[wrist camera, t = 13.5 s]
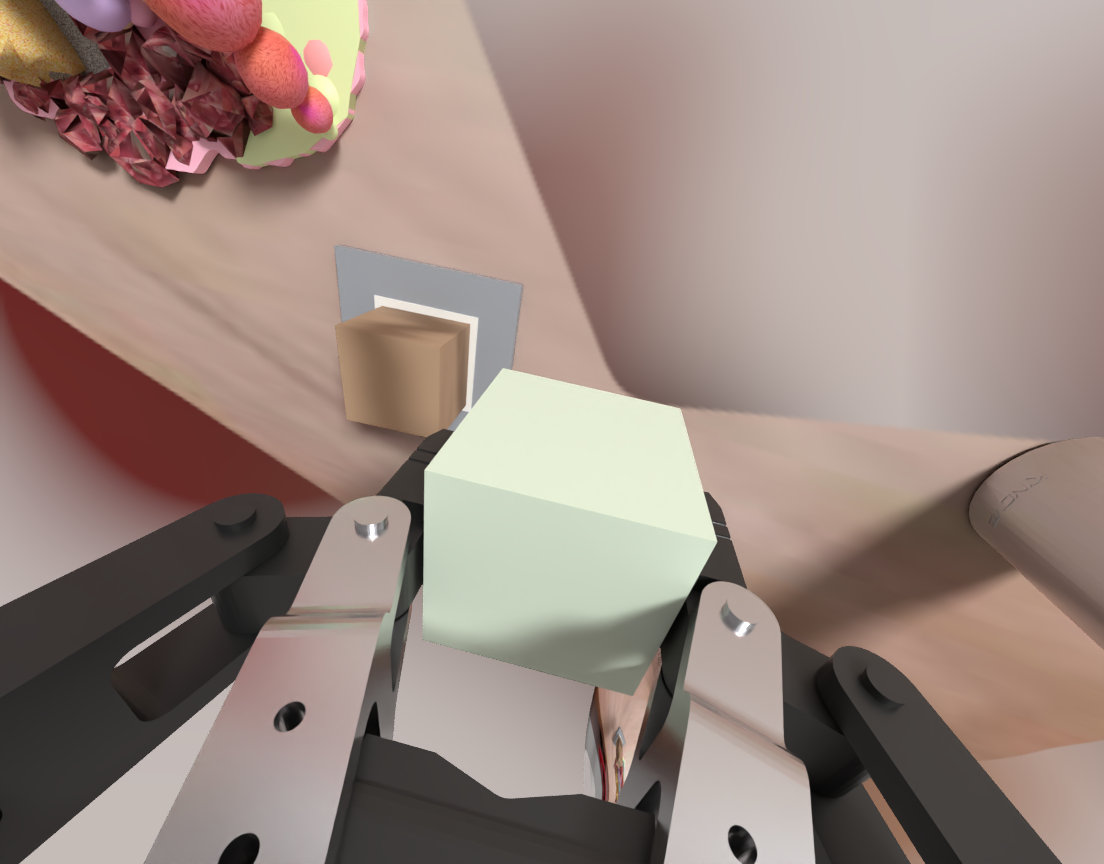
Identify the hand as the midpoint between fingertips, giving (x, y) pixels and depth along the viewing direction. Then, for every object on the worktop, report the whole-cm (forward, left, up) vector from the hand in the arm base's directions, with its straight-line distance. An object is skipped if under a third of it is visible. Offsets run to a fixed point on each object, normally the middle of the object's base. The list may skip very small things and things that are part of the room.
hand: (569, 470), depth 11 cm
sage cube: (0, 0, 0) cm, 0 cm away
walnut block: (+11, +5, -16) cm, 20 cm away
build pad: (+11, +5, -17) cm, 21 cm away
